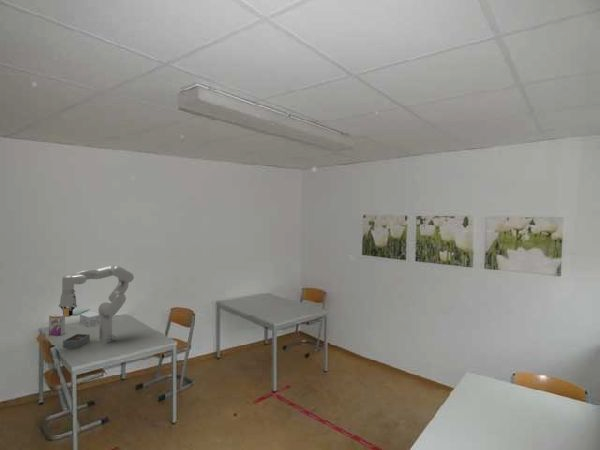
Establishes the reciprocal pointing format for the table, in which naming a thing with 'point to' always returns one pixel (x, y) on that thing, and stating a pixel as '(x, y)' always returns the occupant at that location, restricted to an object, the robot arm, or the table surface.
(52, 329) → the candy bar box
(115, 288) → the robot arm
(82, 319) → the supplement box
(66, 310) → the tool with wooden handle
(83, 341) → the tub
